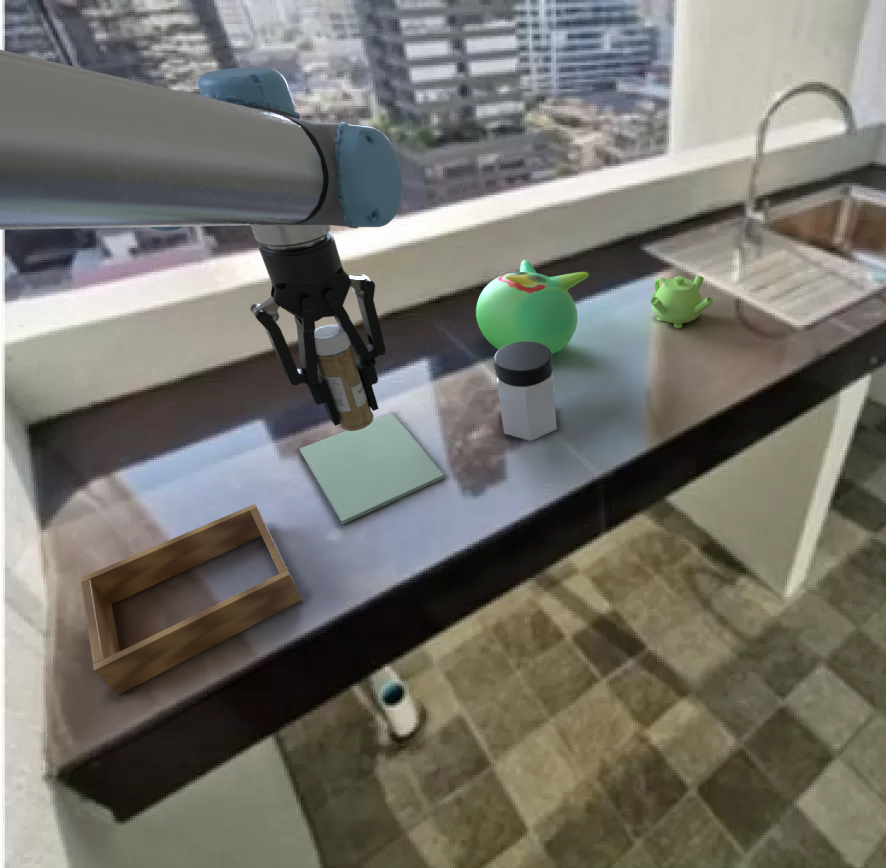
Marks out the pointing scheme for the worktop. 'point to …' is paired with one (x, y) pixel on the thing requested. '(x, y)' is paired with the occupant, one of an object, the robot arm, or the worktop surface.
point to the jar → (526, 389)
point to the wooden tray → (195, 631)
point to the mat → (369, 467)
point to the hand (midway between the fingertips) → (353, 412)
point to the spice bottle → (342, 377)
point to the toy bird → (529, 308)
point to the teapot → (679, 300)
